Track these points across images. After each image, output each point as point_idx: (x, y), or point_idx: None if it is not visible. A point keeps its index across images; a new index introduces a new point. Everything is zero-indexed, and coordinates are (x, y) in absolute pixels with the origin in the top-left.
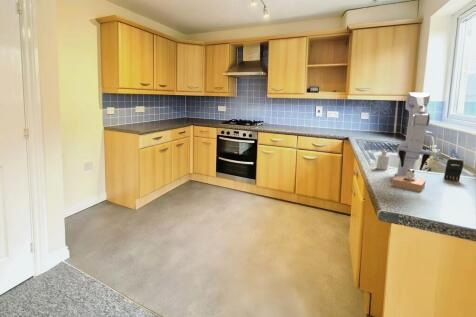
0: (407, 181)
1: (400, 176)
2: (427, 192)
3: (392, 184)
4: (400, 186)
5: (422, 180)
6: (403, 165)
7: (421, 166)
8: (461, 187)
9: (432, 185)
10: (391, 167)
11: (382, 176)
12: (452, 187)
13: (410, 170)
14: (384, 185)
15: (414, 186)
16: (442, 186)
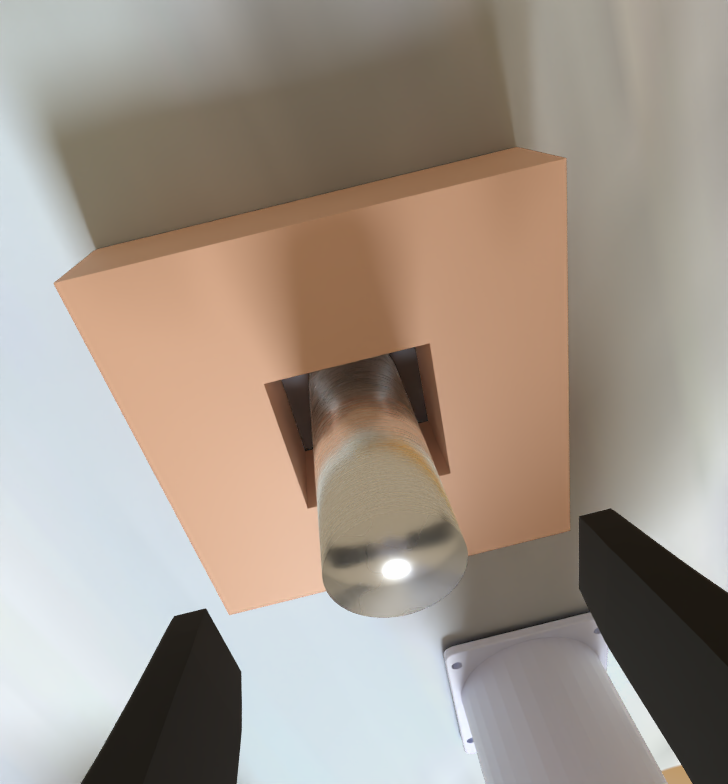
0: (327, 288)
1: (515, 470)
2: (30, 309)
3: (510, 149)
4: (385, 179)
5: (231, 553)
6: (591, 594)
7: (144, 704)
8: (39, 768)
9: None
10: (678, 763)
11: (708, 463)
12: (69, 715)
13: (379, 510)
14: (603, 10)
15: (178, 241)
16: (132, 671)
